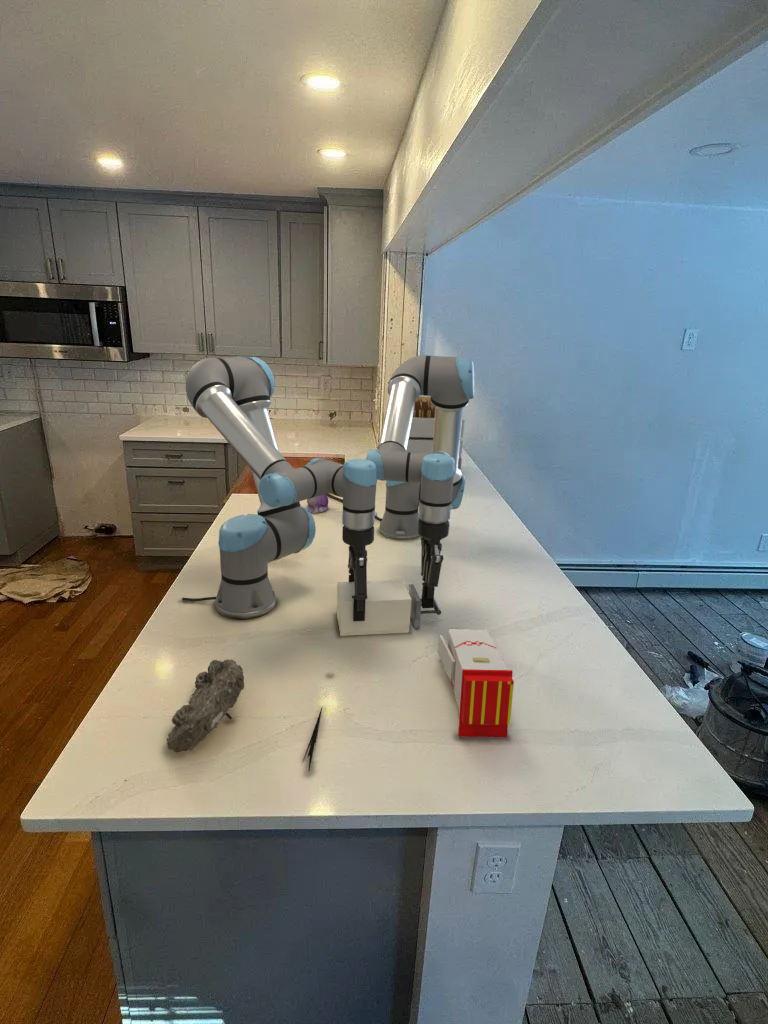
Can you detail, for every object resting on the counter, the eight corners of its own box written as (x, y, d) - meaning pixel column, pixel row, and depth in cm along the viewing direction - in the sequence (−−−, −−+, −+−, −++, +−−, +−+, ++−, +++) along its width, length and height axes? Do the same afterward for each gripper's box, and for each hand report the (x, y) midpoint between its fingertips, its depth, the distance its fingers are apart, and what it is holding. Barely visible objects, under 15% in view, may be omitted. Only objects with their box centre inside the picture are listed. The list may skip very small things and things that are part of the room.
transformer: (382, 463, 289) (386, 382, 275) (445, 464, 293) (451, 384, 279) (390, 482, 257) (394, 392, 243) (460, 483, 261) (468, 394, 247)
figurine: (310, 515, 213) (310, 476, 208) (301, 506, 222) (301, 469, 217) (333, 512, 218) (334, 474, 213) (323, 503, 226) (324, 467, 221)
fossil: (192, 660, 117) (244, 628, 112) (224, 691, 120) (276, 661, 115) (142, 746, 98) (202, 712, 93) (182, 779, 101) (242, 748, 96)
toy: (488, 613, 130) (523, 677, 101) (484, 667, 133) (517, 744, 104) (435, 612, 130) (455, 676, 101) (432, 666, 133) (451, 743, 103)
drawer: (432, 608, 149) (434, 583, 147) (441, 626, 141) (443, 600, 138) (352, 611, 146) (352, 586, 143) (356, 630, 137) (357, 603, 135)
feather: (331, 679, 122) (336, 673, 122) (307, 777, 96) (313, 769, 95) (324, 675, 122) (329, 669, 121) (298, 772, 95) (304, 764, 95)
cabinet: (401, 611, 149) (403, 579, 146) (409, 632, 139) (411, 599, 136) (336, 614, 146) (337, 582, 143) (340, 636, 136) (341, 601, 133)
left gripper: (382, 544, 123) (378, 632, 131) (367, 508, 144) (365, 586, 152) (347, 545, 122) (345, 634, 129) (338, 509, 143) (337, 587, 150)
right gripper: (456, 528, 130) (448, 619, 138) (442, 510, 142) (435, 594, 150) (425, 529, 129) (418, 620, 137) (412, 510, 141) (407, 595, 149)
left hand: (356, 608), depth 140 cm, fingers closed on cabinet, 10 cm apart
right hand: (427, 606), depth 143 cm, fingers closed
